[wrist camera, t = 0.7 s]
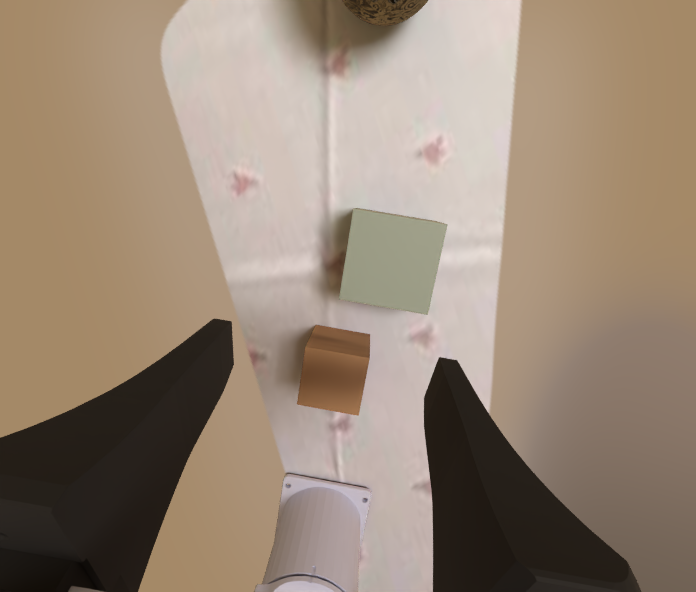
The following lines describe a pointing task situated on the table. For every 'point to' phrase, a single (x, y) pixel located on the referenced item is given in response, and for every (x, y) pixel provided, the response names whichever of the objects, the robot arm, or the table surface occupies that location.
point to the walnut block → (334, 370)
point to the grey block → (392, 260)
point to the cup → (384, 10)
